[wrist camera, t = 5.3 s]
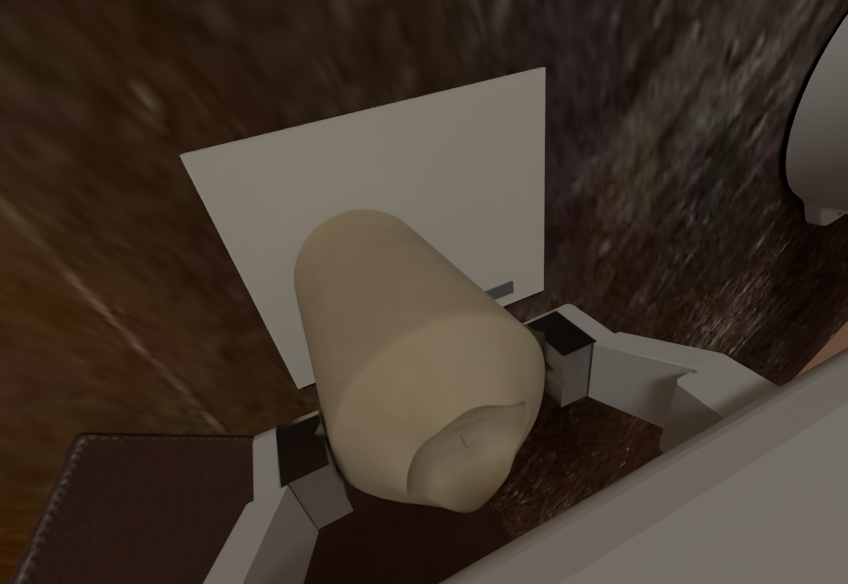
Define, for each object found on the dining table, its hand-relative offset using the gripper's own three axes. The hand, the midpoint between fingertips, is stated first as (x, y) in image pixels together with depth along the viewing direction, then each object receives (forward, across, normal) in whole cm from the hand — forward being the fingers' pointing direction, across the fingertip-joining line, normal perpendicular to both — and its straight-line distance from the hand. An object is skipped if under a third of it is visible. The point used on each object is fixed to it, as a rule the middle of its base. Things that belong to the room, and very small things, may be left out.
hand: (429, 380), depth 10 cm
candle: (+8, 0, 0) cm, 8 cm away
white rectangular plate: (+8, -3, 0) cm, 9 cm away
